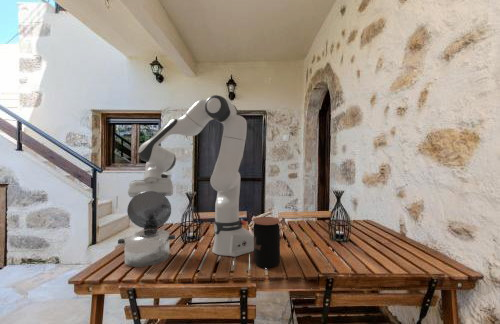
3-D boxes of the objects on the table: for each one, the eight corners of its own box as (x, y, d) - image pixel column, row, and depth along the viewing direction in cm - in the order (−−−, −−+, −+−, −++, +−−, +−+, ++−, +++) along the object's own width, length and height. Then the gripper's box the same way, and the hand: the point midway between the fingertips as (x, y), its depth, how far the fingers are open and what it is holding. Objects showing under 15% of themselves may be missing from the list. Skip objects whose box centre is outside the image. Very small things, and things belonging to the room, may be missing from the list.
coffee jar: (254, 258, 106) (253, 216, 106) (278, 258, 106) (278, 216, 106) (253, 269, 96) (253, 222, 96) (281, 269, 95) (280, 222, 95)
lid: (129, 231, 115) (130, 227, 118) (171, 228, 119) (172, 224, 122) (125, 192, 109) (127, 189, 112) (170, 191, 114) (170, 188, 117)
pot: (124, 253, 114) (124, 231, 114) (176, 248, 119) (176, 227, 119) (112, 269, 96) (112, 244, 96) (173, 263, 102) (173, 239, 102)
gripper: (129, 176, 120) (124, 199, 110) (173, 175, 124) (172, 197, 115) (131, 184, 124) (126, 207, 115) (174, 183, 129) (172, 205, 119)
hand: (149, 202), depth 115 cm, fingers closed, pressing on lid
